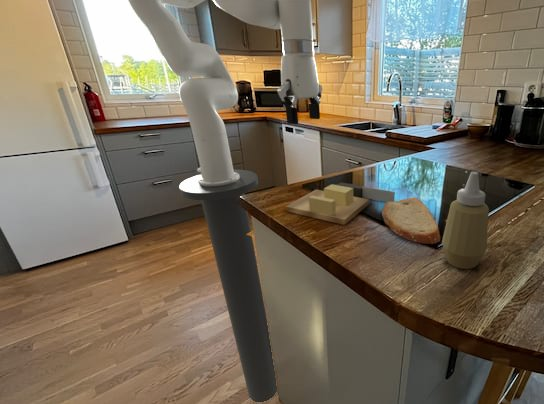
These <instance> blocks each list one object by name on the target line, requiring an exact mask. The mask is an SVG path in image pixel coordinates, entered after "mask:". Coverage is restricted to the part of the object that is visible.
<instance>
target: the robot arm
mask: <svg viewBox="0 0 544 404" xmlns="http://www.w3.org/2000/svg"><path fill="white" fill-rule="evenodd" d="M204 1H206V0H128V3H129V4H130V6H131V8H132V10H133V11H134V13H135V14H136V16H137V17H138V18H139V20H140V21H141V23H142V24H143V26H144V27H145V29H146V30H147V31H148V32H149V34H150V36H151V38H152V40H153V42H154V44H155V45H156V47H157V49H158V50H159V53H160V55H161V56H162V58H163V60H164V61H165V63H166V65H167V66H168V68H169V69H170V71H171V72H172V73H173V75H176V76H179V77H183V78H188V79H186V80H184V81H183V82H182V83H181V84H180V86H179V90H178V94H179V99H180V101H181V104H182V107H183V108H184V110H185V112H186V115H187V119H188V121H189V125H190V129H191V133H192V137H193V142H194V145H195V149H196V154H197V158H198V162H199V167H197V168H196V172H197V173H198V174H199V173H200V174H201V175H202V177H201V178H199V180H198V182H199V184H200V185H202V186H208V187H213V186H223V185H227V184H231V183H234V182H236V181H237V180H239V178H240V176H239V174H238V173H236V172H234V170H235V169H234V166H233V160H232V155H231V149H230V144H229V139H228V134H227V133H228V132H227V128H226V125H225V123H224V120H223V119H222V117H221V116H220V114H219V113H218V111H221V110H222V111H223V110H229V109H232V108H234V107H235V106H236V105H237V103H238V101H239V92H238V89H237V86H236V84H235V82H234V80H233V78H232V76H231V74H230V72H229V70H228V69H227V67H226V65H225V63H224V60H223V59H222V57H221V55H220V54H219V52H218V51H217V50H216V49H214V47H212V46H211V45H209V44H208V43H207V44H206V43H203V42H195V41H192V40H190V38H189V37H188V35H187V33H186V32H185V30H184V28H183V26H182V25H181V23H180V22H179V21H178V19H177V18H176V17H175V16H174V15H173V14H172V12H170V11H169V10H168V9H167V8H166V7H165V6H164V5H167V6H171V7H176V8H180V9H192V8H195V7H196V6H198V5H200V4H201V3H203V2H204ZM212 2H213V3H214V4H215V5H216V7H218V9H220V10H222V11H223V12H225V13H227V14H229V15H231V16H232V17H234V18H236V19H238V20H239V21H241V22H244V23H246V24H248V25H253V26H257V27H262V28H265V29H271V30H280V33H281V44H282V55H281V59H280V82H281V83H280V84H281V85H280V86H279V87H278V88H277V89H276V92H277V94H278V96H279V100H280V102H281V103H282V106H283V108H285V114H286V116H285V117H286V123H287V124H289V125H298V124H299V115H298V113H299V112H298V108H297V107H296V105H297V103H298V100H303V99H304V100H305V99H307V100H308V102H309V103H308V115H309V116H308V117H309V119H311V120H320V119H321V111H320V104H321V99H322V93H323V86H322V85H321V84H320V83H319V77H318V70H317V64H316V59H315V46H314V31H313V28H314V27H313V13H312V0H212Z"/></svg>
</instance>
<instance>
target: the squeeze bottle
mask: <svg viewBox="0 0 544 404" xmlns="http://www.w3.org/2000/svg"><path fill="white" fill-rule="evenodd" d="M485 201H486V193H485V192H484V191H482V190H481V189H480V179H479V173H478V172H477V171H471V172H470V174H469V176H468V179H467V182H466V183H465V187H464V188H460V189H458V190H457V193H456V199H455V200H453V201H451V203H450V204H449V205H450V206H449V210H448V214H447V218H446V223H445V227H444V231H443V235H442V240H441V243H442V247H443V251H444V255H445V259H446V262H447V263H448V264H449V265H451V266H453V267H455V268H458V269H462V270H469V269H474V268H475V267H477V266H478V264H479V263H480V261H481V259H482V258H483V257H484V255H485V254H486V251H487V247H488V246H487V245H488V231H489V211H490V208H489V207H488V205H487V204H486V203H485Z"/></svg>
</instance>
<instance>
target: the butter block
mask: <svg viewBox="0 0 544 404" xmlns="http://www.w3.org/2000/svg"><path fill="white" fill-rule="evenodd" d="M323 191H324V198H327V199H333V200H335V204H339V205H344V206H347V205H348V204H350V203H351V202H353V188H350V187H344V186H339V185H337V184H333V183H331V184H329V185H327V186H326V187H324V188H323Z"/></svg>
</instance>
